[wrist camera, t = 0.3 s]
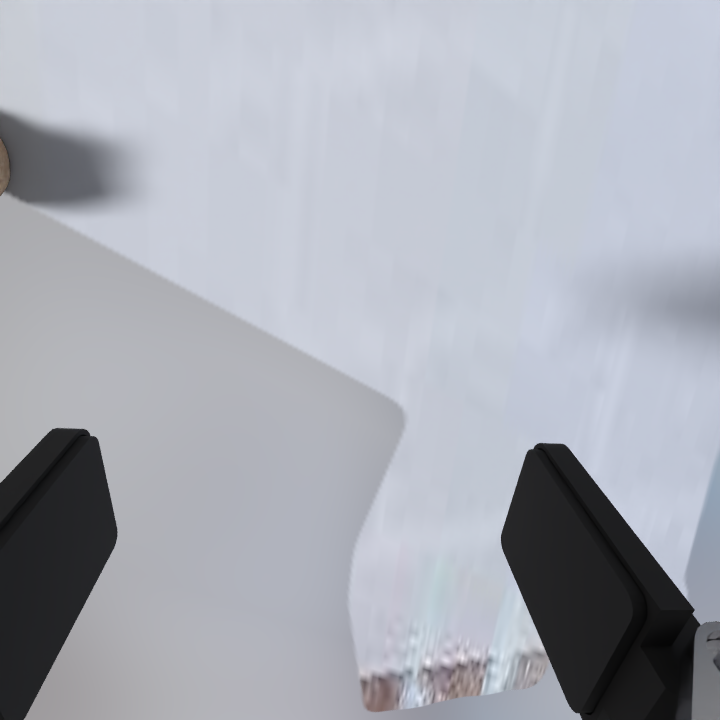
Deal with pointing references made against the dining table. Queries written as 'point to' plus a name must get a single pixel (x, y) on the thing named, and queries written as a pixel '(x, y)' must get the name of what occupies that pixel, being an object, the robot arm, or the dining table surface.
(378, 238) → the dining table surface
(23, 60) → the dining table surface
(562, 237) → the dining table surface
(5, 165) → the figurine
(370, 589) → the dining table surface
